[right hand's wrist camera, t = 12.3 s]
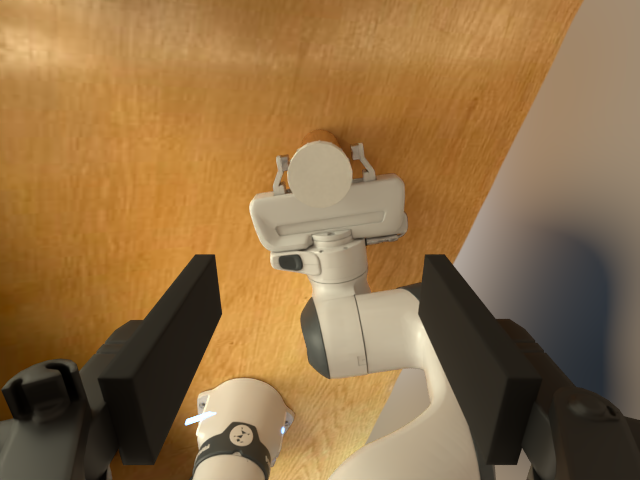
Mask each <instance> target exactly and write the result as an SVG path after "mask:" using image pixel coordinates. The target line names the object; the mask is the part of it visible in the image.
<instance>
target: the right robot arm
mask: <svg viewBox="0 0 640 480" xmlns="http://www.w3.org/2000/svg"><path fill="white" fill-rule="evenodd" d="M221 315H222V309H221V301H220V293H219V284H218V276H217V268H216V260H215V255H195V256H194V257H193V258H192V259H191V261H190V262H189V263H188V265H187V266H186V267H185V268H184V270H183V271H182V272H181V273H180V275H179V276H178V277H177V278H176V280H175V281H174V282H173V283H172V285H171V286H170V287H169V289H168V290H167V291H166V292H165V294H164V295H163V296H162V297H161V299H160V300H159V301H158V302H157V304H156V305H155V306H154V307H153V309H152V310H151V311H150V313H149V314H148V315H147V316H146V318H145V319H144V320H130V321H129V322H127V323H126V324H124V325H123V326H121V327H120V328H118V329H116V330H115V331H114V332H113V334H112V335H111V336H110V337H109V338H108V339H107V340H106V342H105V344H103V345H102V346H101V347H100V348H99V349H98V351H97V353H96V354H94V355H93V356H92V357H91V359H90V360H89V361H88V362H87V363H86V364H85V365H84V367H83V368H82V369H81V370H80V371H78V368H77V364H75V363H74V362H73V361H71V360H67V359H55V360H48V361H45V362H42V363H39V364H35V365H33V366H31V367H29V368H27V369H25V370H23V371H21V372H19V373H18V374H17V375H15V376H14V377H13V378H11V379H10V380H9V381H8V382H7V383H6V385H5V386H4V387H3V388H2V393H3V395H4V397H5V400H6V402H7V404H8V406H9V409H10V411H11V413H12V416H13V418H14V419H10V420H5V421H1V422H0V480H112V476H111V470H110V467H109V464H110V462H111V461H112V459H113V457H114V455H115V454H116V452H117V450H118V449H119V453H120V456H121V459H122V463H123V465H154V464H155V461H156V459H157V457H158V455H159V452H160V450H161V448H162V446H163V444H164V441H165V439H166V437H167V435H168V433H169V430H170V428H171V426H172V424H173V421H174V419H175V417H176V415H177V413H178V410H179V408H180V406H181V404H182V402H183V399H184V397H185V395H186V393H187V391H188V388H189V386H190V384H191V382H192V379H193V377H194V375H195V373H196V371H197V368H198V366H199V364H200V362H201V360H202V357H203V355H204V353H205V351H206V348H207V346H208V344H209V342H210V340H211V337H212V335H213V333H214V331H215V329H216V326H217V324H218V322H219V320H220V317H221ZM418 315H419V317H420V320H421V322H422V324H423V326H424V329H425V331H426V333H427V335H428V337H429V340H430V342H431V344H432V346H433V348H434V351H435V353H436V355H437V357H438V360H439V362H440V364H441V366H442V368H443V371H444V373H445V375H446V377H447V379H448V382H449V384H450V386H451V388H452V391H453V393H454V395H455V397H456V399H457V402H458V404H459V406H460V408H461V410H462V413H463V415H464V417H465V419H466V421H467V424H468V426H469V428H470V430H471V433H472V435H473V437H474V439H475V441H476V444H477V446H478V448H479V450H480V452H481V455H482V457H483V459H484V461H485V464H486V465H517V463H518V459H519V456H520V453H521V449H522V448H523V450H524V452H525V453H526V455H527V457H528V459H529V460H530V462H531V467H530V470H529V473H528V476H527V479H526V480H640V420H637V419H633V418H628V417H625V416H623V414H622V413H621V412H620V410H619V409H618V408H617V407H616V406H614V405H613V404H612V403H611V402H610V401H609V400H607V399H605V398H603V397H602V396H600V395H598V394H596V393H594V392H591V391H589V390H586V389H583V388H578V387H576V386H575V385H574V384H573V383H572V382H571V381H570V380H569V378H568V377H567V376H566V375H565V374H564V373H563V372H562V371H561V369H560V368H559V367H558V366H557V365H556V364H555V363H554V362H553V360H552V359H551V358H550V357H549V356H548V355H547V354H546V353H544V350H543V349H542V348H541V347H540V346H539V344H538V343H535V340H534V339H533V338H532V337H531V335H530V334H529V333H528V332H527V331H526V330H525V329H524V328H523V327H521V326H519V325H518V324H516V323H515V322H513V321H512V320H510V319H495V318H494V316H493V315H492V314H491V313H490V311H489V310H488V309H487V307H486V306H485V305H484V304H483V302H482V301H481V300H480V299H479V297H478V296H477V295H476V294H475V292H474V291H473V290H472V289H471V287H470V286H469V285H468V283H467V282H466V281H465V280H464V278H463V277H462V276H461V275H460V273H459V272H458V271H457V270H456V268H455V267H454V266H453V265H452V263H451V262H450V261H449V259H448V258H447V257H446V256H445V255H425V260H424V268H423V276H422V284H421V293H420V301H419V309H418Z"/></svg>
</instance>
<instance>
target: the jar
mask: <svg viewBox="0 0 640 480" xmlns="http://www.w3.org/2000/svg"><path fill="white" fill-rule="evenodd" d="M319 140H320V141H326V142H330V143H331V142H332V144H334V145H336V146H338V147H339V148H340V145H339V143H338V141H337V139H336V137H335V136H334V135H333V134H332V133H330V132H328V131H326V130H314V131H312V132H310V133H308V134H307V135H306V136H305V137H304V139H303V141H302V143H301V145H300V148H301V147H302V146H304V145H306V144H307V143H310V142H314V141H319ZM300 148H299V149H300ZM340 149H341V148H340Z"/></svg>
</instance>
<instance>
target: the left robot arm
mask: <svg viewBox="0 0 640 480" xmlns="http://www.w3.org/2000/svg"><path fill="white" fill-rule="evenodd" d="M350 147H351V151H352V152H351V155H352V159H353V160H358V159H359V160H360V161H361V162H362V164H363V165H364V166H365V168H366V169H367V170H366V169H363V170H362V173H363V178H357V179H352V184H351V187H350V189H349V191H348V193H347V194H346V196H345V197H344V198H343V199H342V200H341V201H339V202H338V203H336V204H334V205H332V206H329V207H325V208H315V207H311V206H308V205H305V204H304V203H302V202H301V201H299V200H298V199H297V198H296V197H295V196H294V194H293V193H292V191H291V189H286V185H285V182H281V179H282V176H283V173H284V171H287V170H288V168H289V165H290V162H289V155H288V154H287V155H280V156H277V157H276V161H277V166H278V172H277V175H276V178H275V181H274V184H273V190H274V191H272V192H265V193H259V194H256V195H255V197H254V198H253V199H252V201H251V203H250V206H249V209H250V214H251V218H252V221H253V224H254V227H255V230H256V232H257V235H258V237H259V240H260V242H261V243H262V245H263V246H264V247H265V248H266V249H267V250H269V251H271V254H270V262H271V265H272V267H273V268H274V269H278V270H284V271H291V272H298V273H303V274H307V276H308V279H309V281H310V283H311V285H312V289H313V292H312V297H311V298H310V299H309V301H308V302H307V304H306V306H305V308H304V309H303V311H302V313H301V328H302V332H303V336H304V340H305V343H306V347H307V355H308V361H309V364H310V365H311V366H312V367H313V368H314V369H315V370H317V371H318V372H319V373H320V374H321V375H323V376H324V377H326V378H328V379H339V378H347V377H354V376H361V375H367V374H370V373H377V372H384V371H391V370H397V369H404V368H416V369H421V370H424V371H425V377H426V382H427V388H428V393H429V399H430V405H429V407H428V408H427V409H426V410H425V411H424V412H423V413H422V414H421V415H419V416H418V417H417V418H415V419H414V420H412V421H411V422H409V423H408V424H406V425H405V426H403V427H401V428H400V429H398V430H396V431H394V432H392V433H390V434H388V435H386V436H384V437H382V438H380V439H377V440H375V441H373V442H371V443H369V444H366V445H365V446H363V447H361V448H360V449H358V450H357V451H355V452H354V453H353V454H351V455H350V456H349V457H348V458H347V459H345V460H344V461H343V462H342V463H341V464H340V465H339V466H338V467H337V468H336V469H335V471H334V472H333V473H332V474H331V476H330V477H329V478H328V480H496V476H495V465H486V464H485V461H484V459H483V457H482V455H481V452H480V450H479V448H478V446H477V444H476V441H475V439H474V437H473V435H472V433H471V430H470V428H469V426H468V424H467V421H466V419H465V417H464V415H463V413H462V410H461V408H460V406H459V404H458V402H457V399H456V397H455V395H454V393H453V391H452V388H451V386H450V384H449V382H448V379H447V377H446V375H445V373H444V371H443V368H442V366H441V364H440V362H439V360H438V357H437V355H436V353H435V351H434V348H433V346H432V344H431V342H430V340H429V337H428V335H427V333H426V331H425V329H424V326H423V324H422V322H421V320H420V317H419V315H418V309H419V301H420V293H421V284H422V283H416V284H411V285H407V286H403V287H399V288H396V289H393V290H386V291H380V292H373V293H371V289H370V287H369V285H368V282H367V273H368V261H367V253H366V245H373V244H379V243H383V242H394V241H397V240H398V238H400V237H402V236H403V235H404V234H405V233H406V232H407V229H408V219H407V214H406V213H405V211H404V204H405V185H404V182H403V180H402V179H401V178H400V177H399V176H397V175H396V174H394V173H390V174H383V175H377V176H375V171H374V169H373V168H372V166H371V165H370V164H369V162H368V161H367V160H366V158H365V157H364V149H363V143H356V144H350ZM400 233H401V234H400ZM397 234H399V235H397ZM197 403H198V416H195V417H192V418H189V419H187V420H186V423H185V425H188V424H191V423H194V422H197V421H199V425H198V429H197V432H196V435H197V436H198V446H199V453H198V454H197V457H196V459H195V463H194V468H193V476H192V477H191V478H190V480H268V479H269V475H270V468H271V467H273V466H274V464H275V461H276V457H278V456H279V453H280V451H281V447H282V440H283V436H284V434H285V433H286V431H287V430H288V428H289V427H290V425H291V424H292V422H293V421H294V417H295V414H294V412H293V411H292V410H291V409H290V408H288V407H287V406H286V405H285V403H284V401H283V399H282V397H281V395H280V394H279V393H278V392H277V390H276V389H274V388H273V387H272V386H270V385H269V384H267V383H265V382H263V381H260V380H257V379H252V378H236V379H232V380H228V381H226V382H224V383H222V384H220V385H219V386H218V387H216V388H215V389H213V390H209V391H205V392H202V393H200V394H199V396H198V400H197Z"/></svg>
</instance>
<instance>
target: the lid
mask: <svg viewBox="0 0 640 480" xmlns="http://www.w3.org/2000/svg"><path fill="white" fill-rule="evenodd" d="M349 161H350V160H349V158H347V156H346V154H345V153H344V152H343V150H342V148H341V149H340V148H339V147H338V146H336V145H334V144H332V142H331V143H330V142H326V141H320V140H319V141H314V142H310V143H307V144H306V145H304V146H302V147H301V148H300V149H297V152H296V153H295V154H294V156H293V158H292V159H291V160H290V165H289V168H288V172H287V174H288V183H289V187H290V189H291V191H292V193H293V194H294V196H295V197H296V198H297V199H298V200H299V201H301V202H302V203H304V204H305V205H308V206H311V207H315V208H325V207H329V206H332V205H334V204H336V203H338V202H339V201H341V200H342V199H343V198H344V197H345V196H346V194H347V193H348V191H349V189H350V187H351V184H352V173H353V171H352V168H351V165H350V162H349Z"/></svg>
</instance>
